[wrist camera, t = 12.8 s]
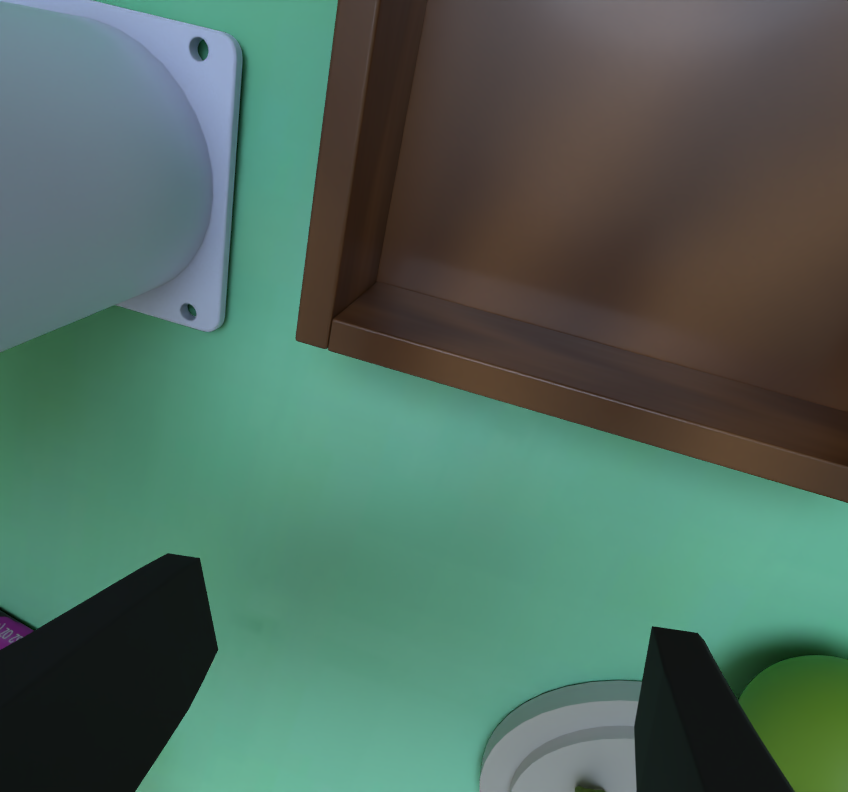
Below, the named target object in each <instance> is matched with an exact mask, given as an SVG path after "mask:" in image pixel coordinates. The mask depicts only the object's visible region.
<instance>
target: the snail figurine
mask: <svg viewBox="0 0 848 792" xmlns="http://www.w3.org/2000/svg"><path fill="white" fill-rule="evenodd" d="M738 702H739V704H740V705H741V707H742V709H743V710H744V712H745V714H746V715H747V717H748V719H749V720H750V722H751V724H752V725H753V727H754V729H755V730H756V732H757V733H758V735H759V737H760V738H761V740H762V742H763V743H764V745H765V746H766V748H767V750H768V751H769V753H770V754H771V756H772V757H773V759H774V760H775V762H776V763H777V765H778V767H779V768H780V770H781V771H782V773H783V774H784V776H785V777H786V779H787V780H788V782H789V783H790V785H791V787H792V788H793V790H794V791H795V792H848V659H844V658H839V657H833V656H825V655H807V656H799V657H794V658H790V659H786V660H783V661H780V662H778V663H776V664H773V665H772V666H770V667H768V668H766V669H765V670H763V671H762V672H761V673H759V674H758V675H757V676H756V677H755V678H754V679H753V680H752V681H751V682H750V683H749V684H748V686H747V687H746V688H745V690H744V691H743V693H742V695H741V697H740V698H739V701H738Z"/></svg>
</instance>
